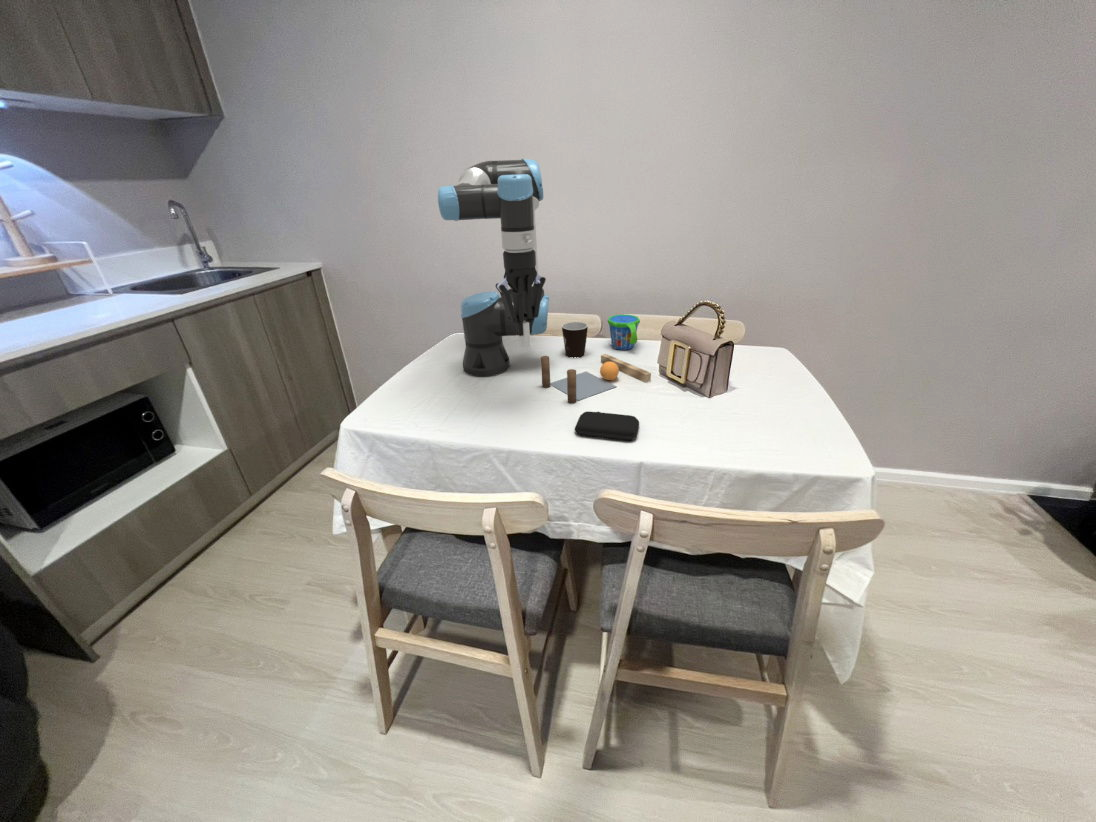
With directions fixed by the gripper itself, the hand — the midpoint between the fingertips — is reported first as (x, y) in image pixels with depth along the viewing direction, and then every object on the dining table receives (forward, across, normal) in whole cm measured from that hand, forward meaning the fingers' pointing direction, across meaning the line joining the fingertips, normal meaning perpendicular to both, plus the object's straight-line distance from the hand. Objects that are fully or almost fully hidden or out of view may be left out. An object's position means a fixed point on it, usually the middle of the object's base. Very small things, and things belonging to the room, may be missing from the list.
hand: (525, 346), depth 117 cm
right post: (+16, +10, -6) cm, 20 cm away
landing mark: (+16, +18, 0) cm, 25 cm away
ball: (+14, +27, -2) cm, 31 cm away
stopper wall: (+16, +35, 0) cm, 39 cm away
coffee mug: (+17, +33, +22) cm, 43 cm away
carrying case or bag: (+17, +8, -23) cm, 30 cm away
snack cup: (+17, +49, +16) cm, 54 cm away
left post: (+16, +10, +6) cm, 20 cm away
